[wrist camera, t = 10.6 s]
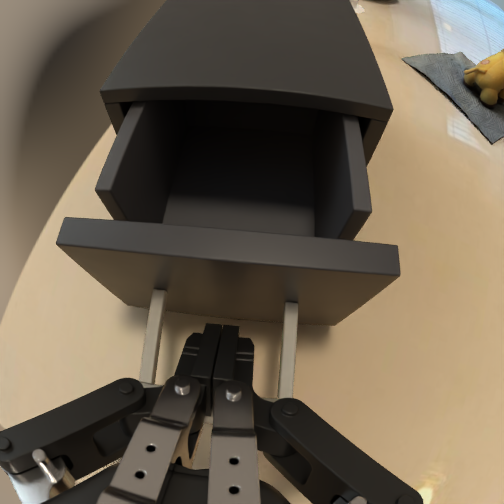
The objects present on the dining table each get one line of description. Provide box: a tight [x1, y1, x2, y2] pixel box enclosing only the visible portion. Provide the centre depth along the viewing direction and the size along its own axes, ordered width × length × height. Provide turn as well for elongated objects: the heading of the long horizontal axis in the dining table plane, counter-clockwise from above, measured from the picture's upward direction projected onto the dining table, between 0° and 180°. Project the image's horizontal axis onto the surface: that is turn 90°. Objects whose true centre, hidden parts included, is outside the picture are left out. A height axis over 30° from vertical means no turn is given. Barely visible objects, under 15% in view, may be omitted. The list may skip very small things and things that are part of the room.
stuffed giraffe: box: [402, 49, 504, 143], centre depth 25 cm, size 16×18×16 cm
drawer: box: [56, 100, 400, 424], centre depth 16 cm, size 20×13×9 cm, turn 175°
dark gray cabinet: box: [100, 0, 393, 167], centre depth 21 cm, size 16×14×11 cm
